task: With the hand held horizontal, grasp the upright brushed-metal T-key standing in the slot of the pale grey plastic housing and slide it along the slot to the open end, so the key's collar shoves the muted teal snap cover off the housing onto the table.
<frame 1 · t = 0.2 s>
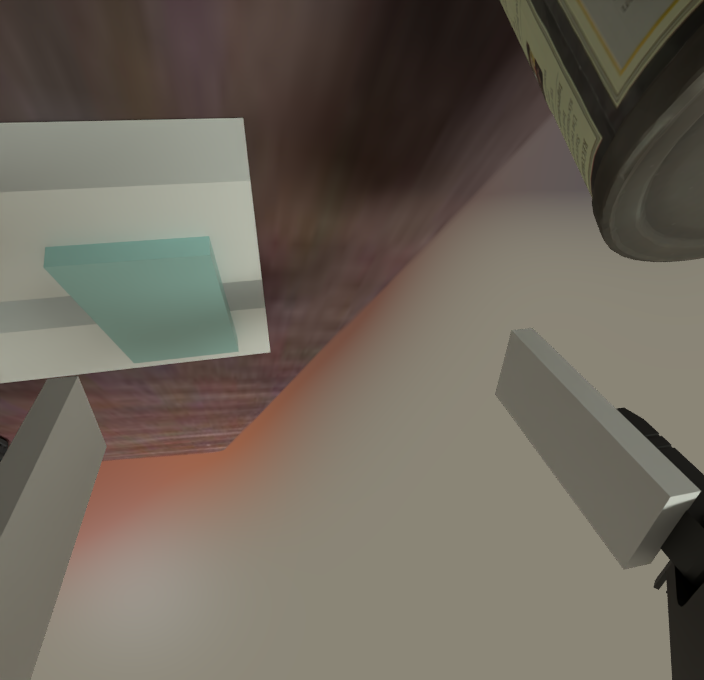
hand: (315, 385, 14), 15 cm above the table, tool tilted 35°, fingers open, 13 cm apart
snap cover: (164, 303, 30), point 4 cm above the table, touching housing
housing: (45, 261, 30), on the table
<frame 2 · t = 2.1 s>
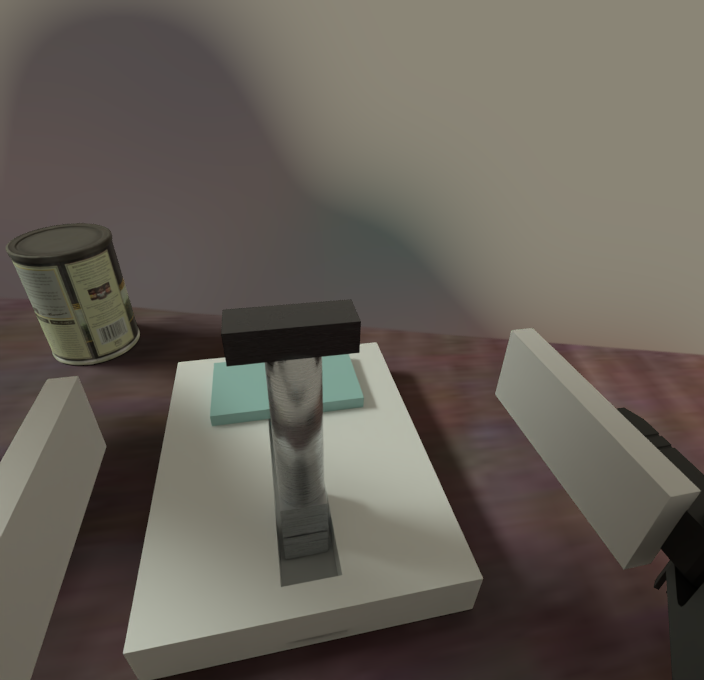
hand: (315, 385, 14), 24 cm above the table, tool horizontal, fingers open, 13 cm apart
t key: (298, 446, 29), point 11 cm above the table, slide at 0.0 cm
snap cover: (286, 388, 45), point 4 cm above the table, touching housing
coffee can: (97, 343, 58), on the table
housing: (295, 474, 41), on the table
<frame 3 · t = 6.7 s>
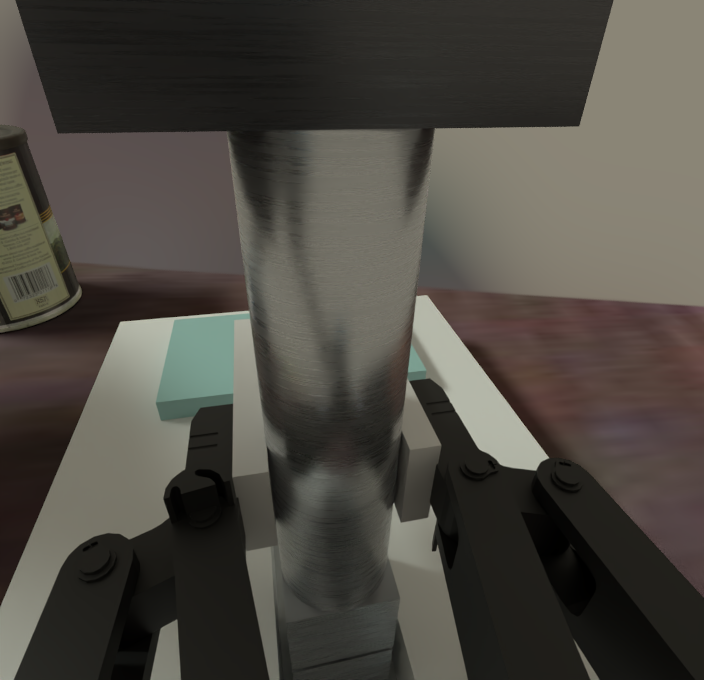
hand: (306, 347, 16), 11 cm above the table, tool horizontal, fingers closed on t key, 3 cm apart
t key: (333, 462, 11), point 11 cm above the table, slide at 0.0 cm, touching gripper
snap cover: (292, 359, 27), point 4 cm above the table, touching housing
coffee can: (18, 306, 40), on the table
housing: (310, 505, 23), on the table
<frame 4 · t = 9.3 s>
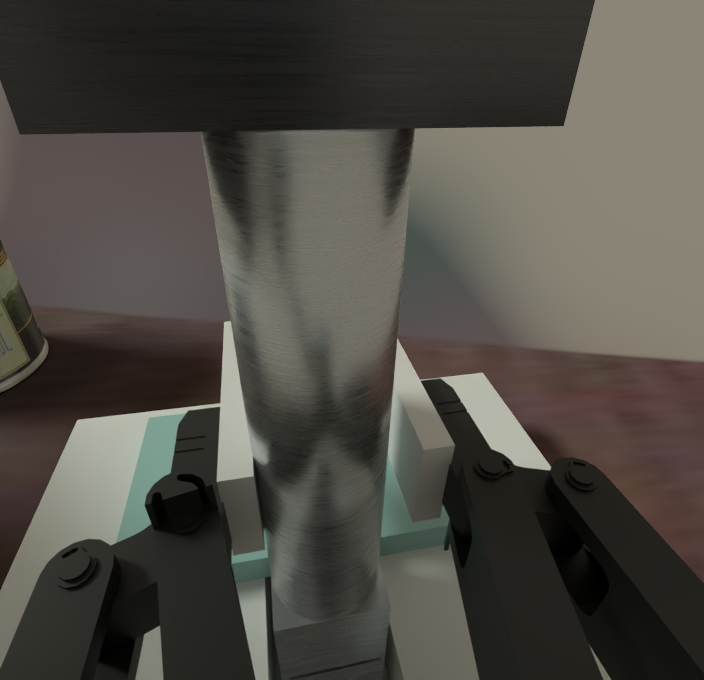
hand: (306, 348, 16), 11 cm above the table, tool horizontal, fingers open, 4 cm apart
t key: (321, 469, 11), point 11 cm above the table, slide at 9.5 cm, touching gripper
snap cover: (307, 480, 20), point 4 cm above the table
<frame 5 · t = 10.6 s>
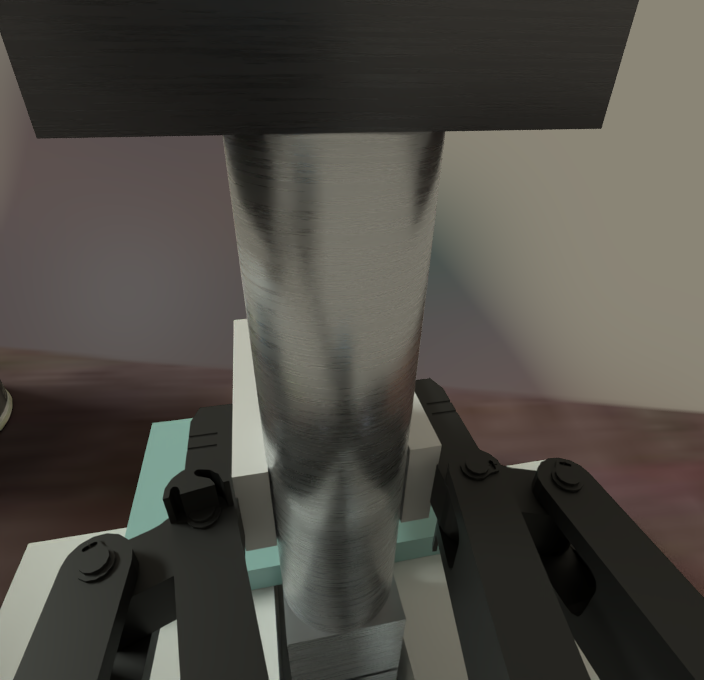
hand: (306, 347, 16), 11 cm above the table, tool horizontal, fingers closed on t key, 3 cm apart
t key: (336, 478, 11), point 11 cm above the table, slide at 16.0 cm, touching gripper, snap cover
snap cover: (314, 485, 19), point 4 cm above the table, touching t key
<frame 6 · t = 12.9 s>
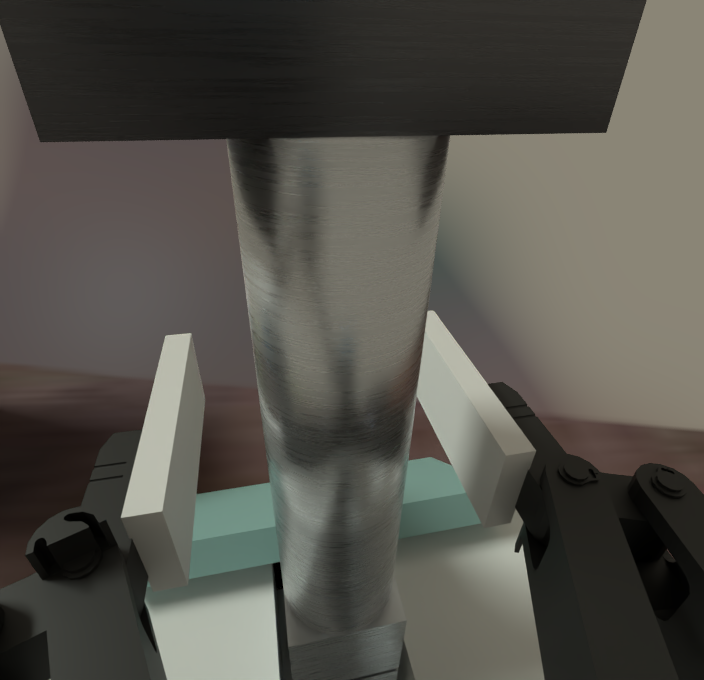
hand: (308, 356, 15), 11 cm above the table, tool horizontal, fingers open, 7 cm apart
t key: (338, 481, 11), point 11 cm above the table, slide at 17.9 cm
snap cover: (315, 521, 20), point 2 cm above the table, tilted 40°, touching housing
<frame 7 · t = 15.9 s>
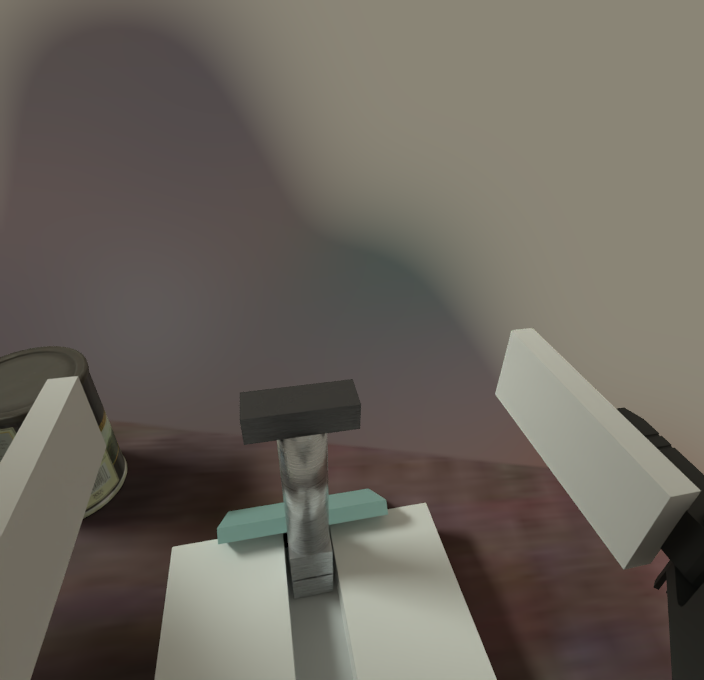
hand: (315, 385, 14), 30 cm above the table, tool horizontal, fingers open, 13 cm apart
t key: (306, 501, 32), point 11 cm above the table, slide at 17.9 cm
snap cover: (303, 519, 40), point 3 cm above the table, tilted 45°, touching housing
coffee can: (74, 485, 47), on the table
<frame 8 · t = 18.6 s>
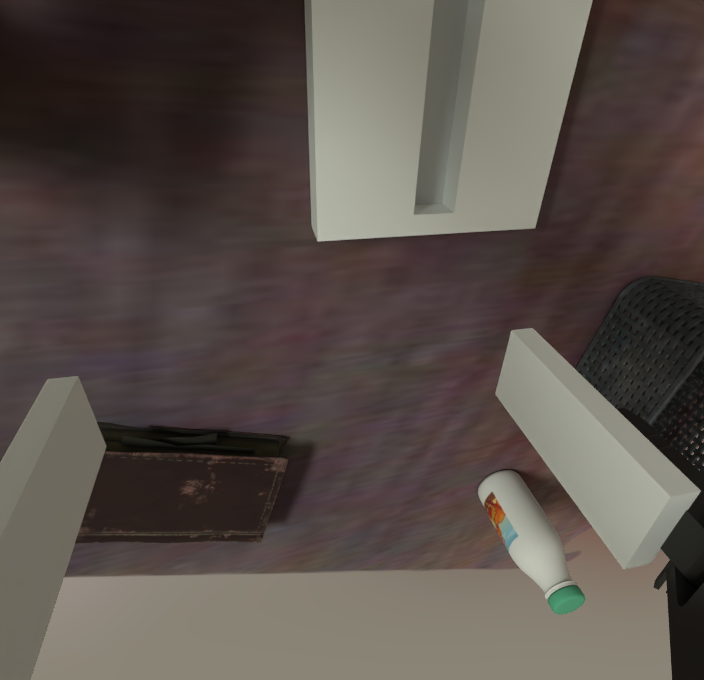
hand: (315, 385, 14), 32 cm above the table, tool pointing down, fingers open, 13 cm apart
storage bin: (627, 365, 66), on the table
diary: (178, 471, 59), on the table
milk bottle: (497, 483, 75), on the table
housing: (434, 60, 38), on the table
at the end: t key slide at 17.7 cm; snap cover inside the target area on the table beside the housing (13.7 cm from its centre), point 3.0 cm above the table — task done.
